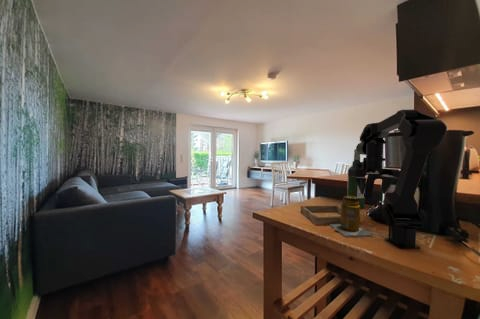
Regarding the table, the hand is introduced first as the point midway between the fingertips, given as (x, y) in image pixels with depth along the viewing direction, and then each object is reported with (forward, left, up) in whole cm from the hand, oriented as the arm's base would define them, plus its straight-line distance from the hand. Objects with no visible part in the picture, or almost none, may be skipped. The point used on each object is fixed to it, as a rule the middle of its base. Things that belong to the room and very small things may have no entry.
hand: (372, 193), depth 81 cm
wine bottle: (+22, -8, -12) cm, 26 cm away
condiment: (-7, +15, -12) cm, 20 cm away
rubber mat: (-7, +14, -12) cm, 20 cm away
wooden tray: (+7, +15, -12) cm, 20 cm away
